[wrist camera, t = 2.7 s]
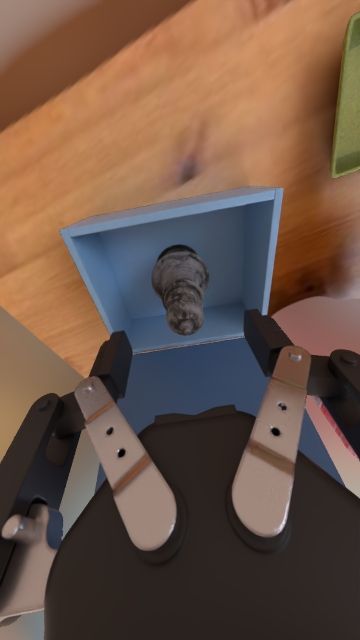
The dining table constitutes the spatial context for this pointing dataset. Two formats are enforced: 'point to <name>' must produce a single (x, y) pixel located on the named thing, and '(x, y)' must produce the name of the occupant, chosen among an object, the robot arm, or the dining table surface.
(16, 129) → the dining table surface
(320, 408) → the soda can
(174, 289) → the chess piece
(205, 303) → the blue rectangular open box
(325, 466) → the lid
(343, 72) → the green square tray
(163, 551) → the robot arm
